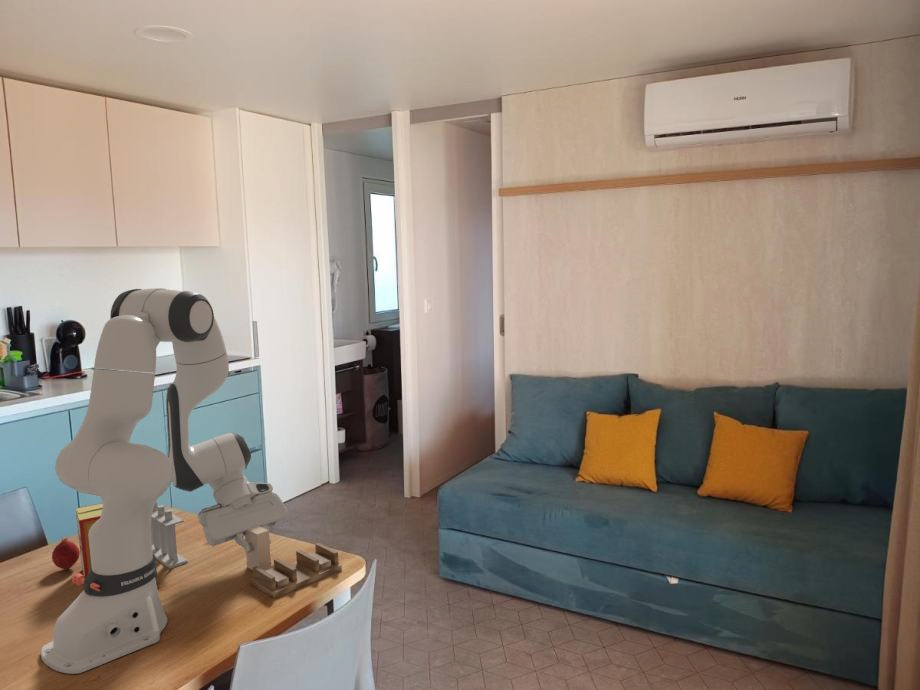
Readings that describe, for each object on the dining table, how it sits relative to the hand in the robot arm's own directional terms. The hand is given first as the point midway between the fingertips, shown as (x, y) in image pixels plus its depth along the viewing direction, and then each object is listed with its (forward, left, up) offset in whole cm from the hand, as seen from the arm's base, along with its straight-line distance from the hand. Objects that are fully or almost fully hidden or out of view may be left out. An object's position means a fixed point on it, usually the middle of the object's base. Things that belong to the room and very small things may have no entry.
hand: (259, 548), depth 164 cm
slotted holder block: (+2, -10, -5) cm, 12 cm away
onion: (-25, +41, -6) cm, 48 cm away
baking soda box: (-22, +32, -6) cm, 39 cm away
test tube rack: (-7, +31, -6) cm, 33 cm away
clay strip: (0, +1, -5) cm, 5 cm away
